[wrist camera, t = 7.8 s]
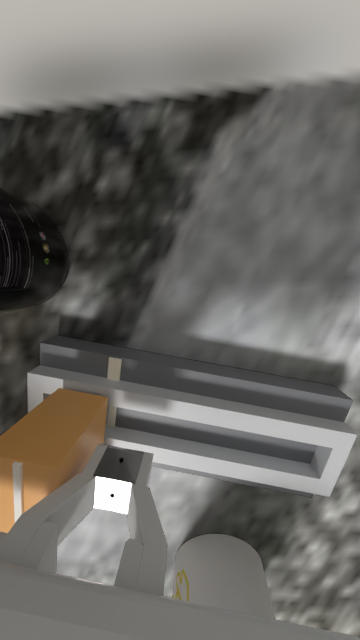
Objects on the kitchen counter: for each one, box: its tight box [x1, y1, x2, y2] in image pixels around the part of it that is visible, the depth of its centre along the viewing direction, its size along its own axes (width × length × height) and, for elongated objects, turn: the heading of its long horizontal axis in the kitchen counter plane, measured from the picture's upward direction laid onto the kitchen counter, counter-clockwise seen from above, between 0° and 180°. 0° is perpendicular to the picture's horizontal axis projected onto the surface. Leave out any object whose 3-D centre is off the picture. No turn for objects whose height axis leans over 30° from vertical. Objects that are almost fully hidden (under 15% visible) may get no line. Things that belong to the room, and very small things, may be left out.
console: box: [27, 336, 357, 498], centre depth 12 cm, size 20×8×5 cm, turn 80°
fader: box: [0, 388, 109, 533], centre depth 10 cm, size 3×4×6 cm
